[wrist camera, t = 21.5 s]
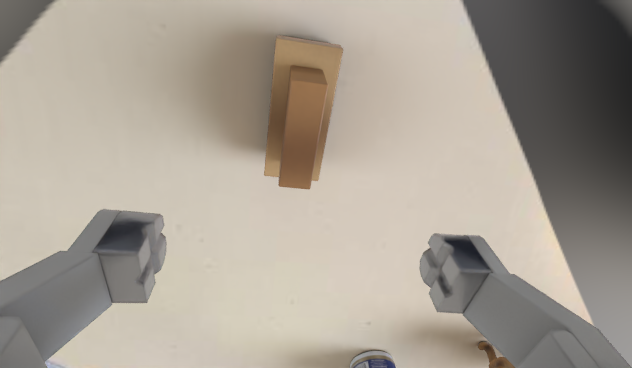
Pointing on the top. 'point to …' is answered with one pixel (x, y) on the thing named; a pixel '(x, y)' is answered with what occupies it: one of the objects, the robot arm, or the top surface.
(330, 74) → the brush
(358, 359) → the pill bottle
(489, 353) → the lion figurine
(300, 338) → the top surface
